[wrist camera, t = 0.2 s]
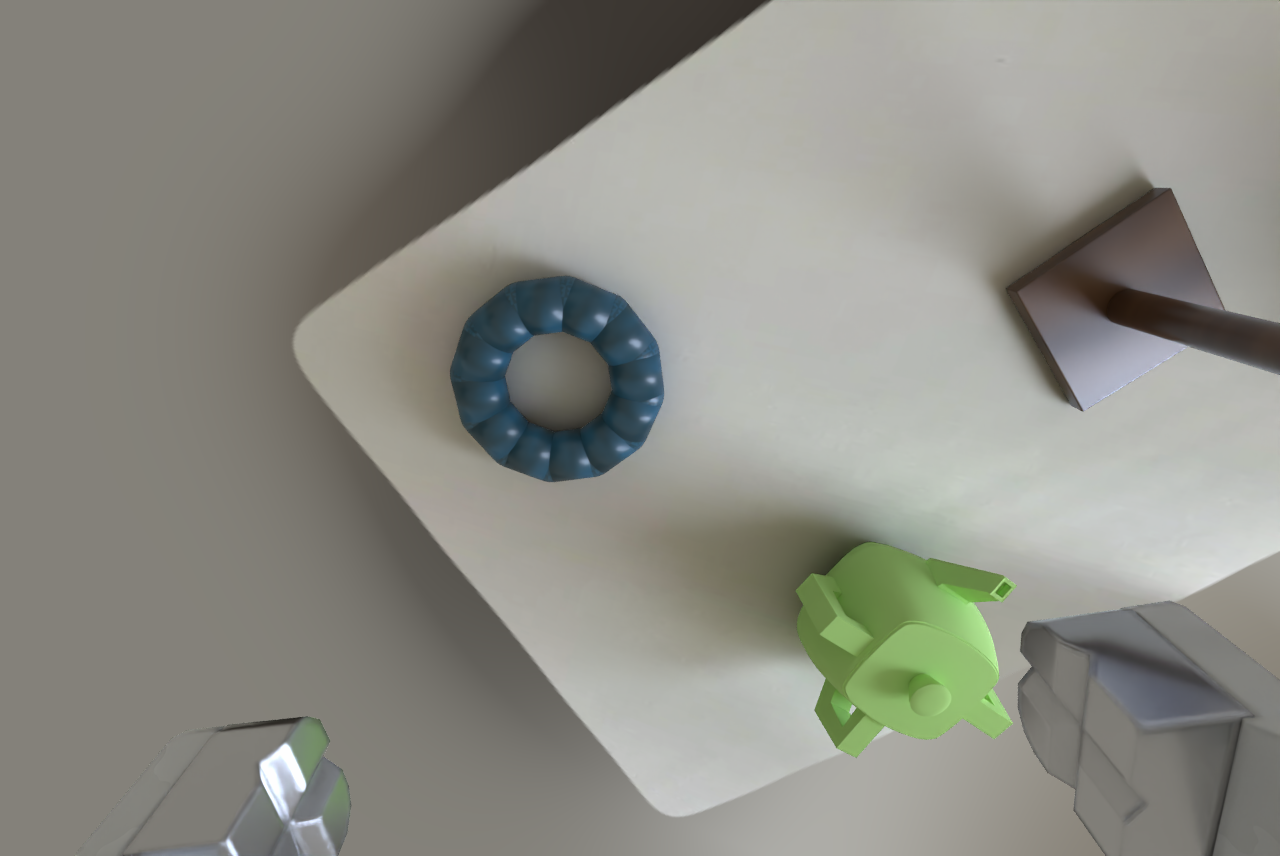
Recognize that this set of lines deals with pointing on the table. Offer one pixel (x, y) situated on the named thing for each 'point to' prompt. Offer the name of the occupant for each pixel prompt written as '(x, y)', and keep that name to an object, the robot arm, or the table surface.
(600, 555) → the table surface
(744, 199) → the table surface
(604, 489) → the table surface
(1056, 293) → the stand
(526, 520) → the table surface
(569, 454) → the ring
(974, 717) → the teapot
